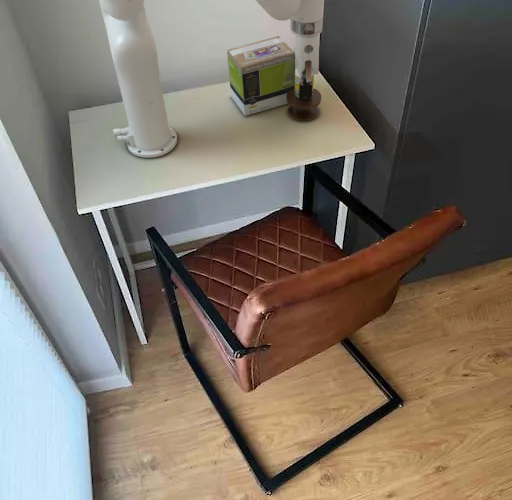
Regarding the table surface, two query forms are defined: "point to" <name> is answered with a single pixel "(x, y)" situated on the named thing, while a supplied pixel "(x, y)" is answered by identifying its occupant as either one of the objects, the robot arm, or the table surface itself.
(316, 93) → the stand
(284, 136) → the table surface
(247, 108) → the tea box
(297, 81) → the supplement bottle
